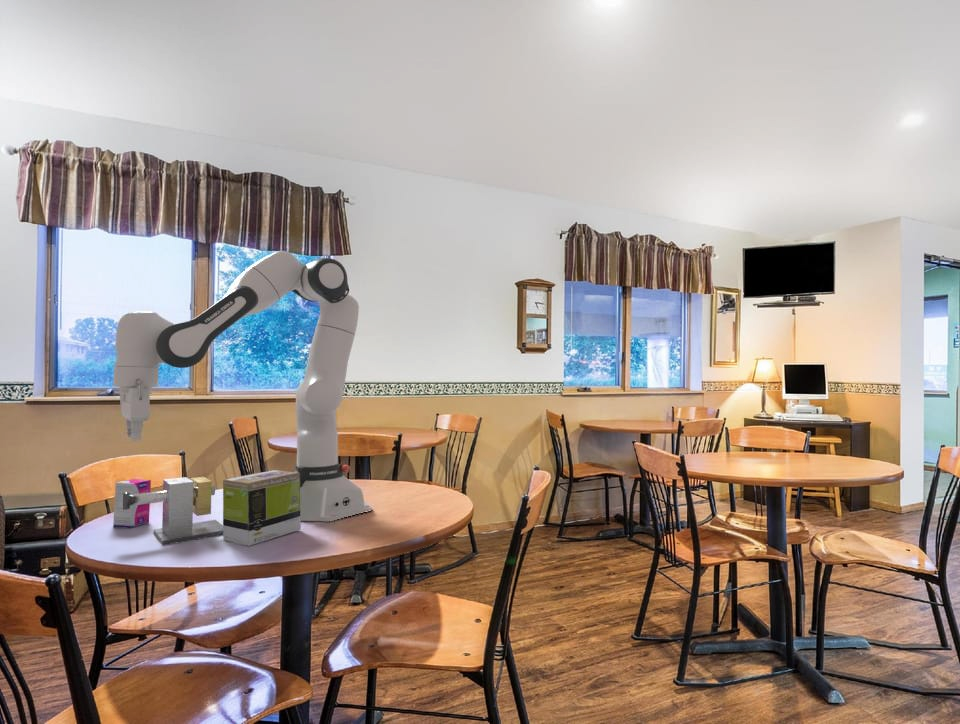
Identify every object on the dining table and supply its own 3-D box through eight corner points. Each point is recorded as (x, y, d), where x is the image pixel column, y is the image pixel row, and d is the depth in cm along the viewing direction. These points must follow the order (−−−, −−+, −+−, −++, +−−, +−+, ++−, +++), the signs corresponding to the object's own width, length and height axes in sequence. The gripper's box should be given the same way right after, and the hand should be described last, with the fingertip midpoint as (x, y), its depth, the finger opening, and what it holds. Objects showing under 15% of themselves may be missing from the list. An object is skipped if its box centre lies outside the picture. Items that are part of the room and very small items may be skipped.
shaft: (211, 496, 133) (211, 480, 133) (215, 499, 130) (216, 483, 130) (121, 508, 121) (121, 491, 121) (123, 511, 118) (123, 493, 118)
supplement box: (131, 528, 133) (133, 483, 133) (112, 527, 134) (113, 482, 134) (150, 522, 138) (151, 479, 139) (131, 521, 140) (132, 478, 140)
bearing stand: (215, 523, 137) (216, 472, 138) (228, 533, 128) (229, 479, 129) (153, 533, 128) (154, 479, 129) (162, 545, 119) (163, 486, 120)
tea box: (275, 525, 136) (275, 468, 136) (301, 531, 131) (302, 472, 131) (221, 540, 123) (222, 477, 123) (247, 547, 118) (248, 481, 118)
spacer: (203, 507, 134) (203, 476, 134) (210, 513, 128) (211, 481, 128) (189, 509, 132) (190, 478, 132) (197, 516, 126) (198, 482, 126)
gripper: (158, 379, 116) (155, 441, 116) (146, 379, 132) (143, 434, 132) (124, 379, 112) (121, 443, 112) (116, 379, 128) (113, 435, 128)
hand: (133, 438), depth 122 cm, fingers open, 8 cm apart
